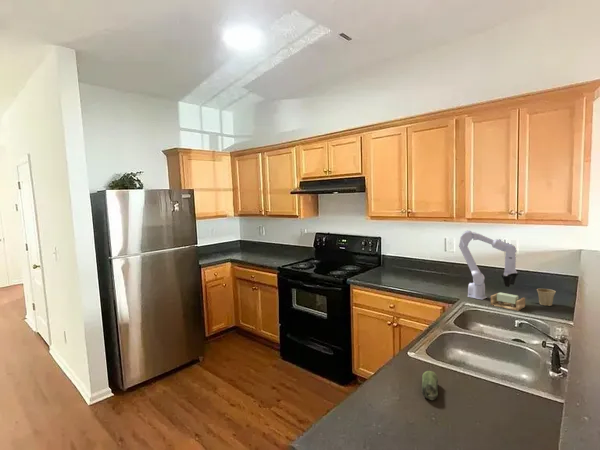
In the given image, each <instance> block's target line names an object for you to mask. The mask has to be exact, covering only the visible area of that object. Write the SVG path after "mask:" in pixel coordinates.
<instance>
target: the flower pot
mask: <svg viewBox="0 0 600 450" xmlns="http://www.w3.org/2000/svg"><path fill="white" fill-rule="evenodd" d="M536 292H537V295H538V303H539V305H541V306H549V307H550V306H553V302H554V297H555V295H556V292H557V291H556V290H555V289H554V290H553V289H550V288H537V289H536Z"/></svg>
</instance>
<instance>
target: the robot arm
mask: <svg viewBox="0 0 600 450" xmlns="http://www.w3.org/2000/svg"><path fill="white" fill-rule="evenodd" d="M472 240H473V241H480V242H483V243H486V244H489V245H491V246H492V249H493V248H494V249H496V250H497V251H501V252H505V256H504V271H503V274H501V278H502V280H503V283H504V286H505V287H507V288H510V286H511V285H512V286H514V285H515V283H516V280H517V277H518V275H519V273H518V271H517V269H516V268H517V267H516V265H517V263H516V262H517V259H516V258H517V257H516V256H517V254H516V253H517V248H516V246H515V245H513V244H512V243H509V242H506V241H503V240H502V239H500V238H498V239H497V238H496V239H492V238H490V237H487V236H485V235H483V234H481V233H477V232H476V231H471V230H465V231H464V232H463V233H462V234H461V236H460V239H459V245H458V247H459V250H460V252H461V254H462V255H463V256H462V257H463V258H464V259H465V263H466V265H467V266H468V268H469V271H470V272H471V276H472V281H473V282H469V283H468V287H467V297H468V298H471V299H477V300H485V299H486V298H487V299H488V296H486V284H485V277H486V276H485V275H484V274H483V272H481V270H480V269H479V267H478V264H477V263H476V261H475V259H474V257H473V255H472V253H471V251H470V249H469V247H468V246H469V243H470V242H471V241H472Z"/></svg>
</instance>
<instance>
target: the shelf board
mask: <svg viewBox="0 0 600 450" xmlns="http://www.w3.org/2000/svg"><path fill="white" fill-rule="evenodd" d="M497 293H498V294H497V301H502V302H507V303H512V304H516V301H517V300H519V299H520V297H519V295H518V294H513V293H512V294H511V293H505V292H501V291H500V292H497Z"/></svg>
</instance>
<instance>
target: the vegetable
mask: <svg viewBox="0 0 600 450" xmlns="http://www.w3.org/2000/svg"><path fill="white" fill-rule="evenodd" d="M421 375H422V376H421V377H422V378H421V381H422V382H421V392H422V395H423V397H424V398H426V399H427V400H429V401H434V400H436V399H437V397H438V395H439V394H438V387H439V386H438V382H439V378H438V375H437V374H436V373H435V372H434V371H433V370H426V371H423V374H421Z"/></svg>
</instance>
